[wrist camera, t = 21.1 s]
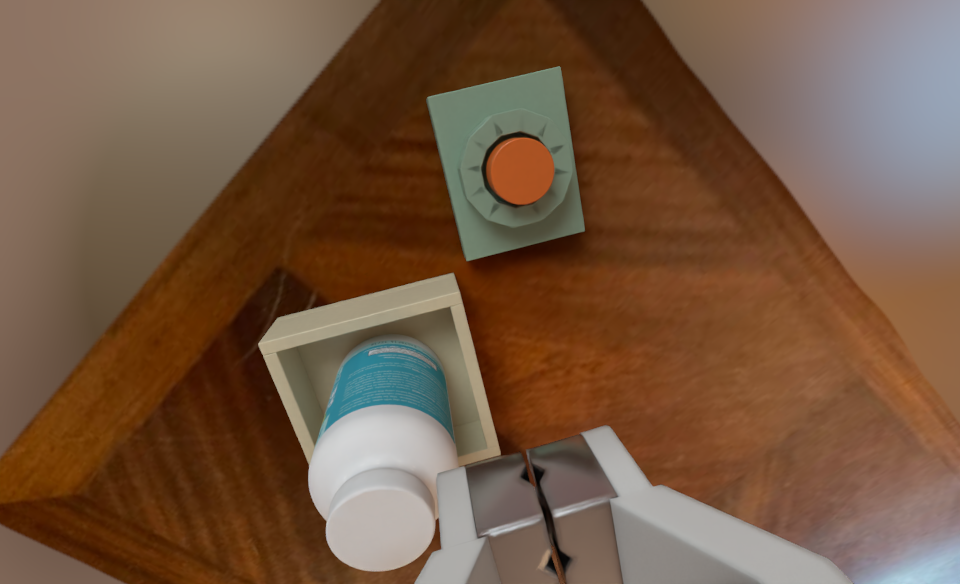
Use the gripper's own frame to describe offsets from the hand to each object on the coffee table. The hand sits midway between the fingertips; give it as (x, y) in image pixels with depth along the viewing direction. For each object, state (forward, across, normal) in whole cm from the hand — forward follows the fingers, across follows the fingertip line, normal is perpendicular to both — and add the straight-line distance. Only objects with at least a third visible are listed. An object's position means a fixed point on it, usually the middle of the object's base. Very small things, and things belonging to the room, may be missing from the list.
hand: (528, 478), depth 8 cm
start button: (+21, -5, -3) cm, 22 cm away
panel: (+24, -5, -3) cm, 25 cm away
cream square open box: (+24, +6, +9) cm, 26 cm away
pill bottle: (+24, +6, +9) cm, 26 cm away
